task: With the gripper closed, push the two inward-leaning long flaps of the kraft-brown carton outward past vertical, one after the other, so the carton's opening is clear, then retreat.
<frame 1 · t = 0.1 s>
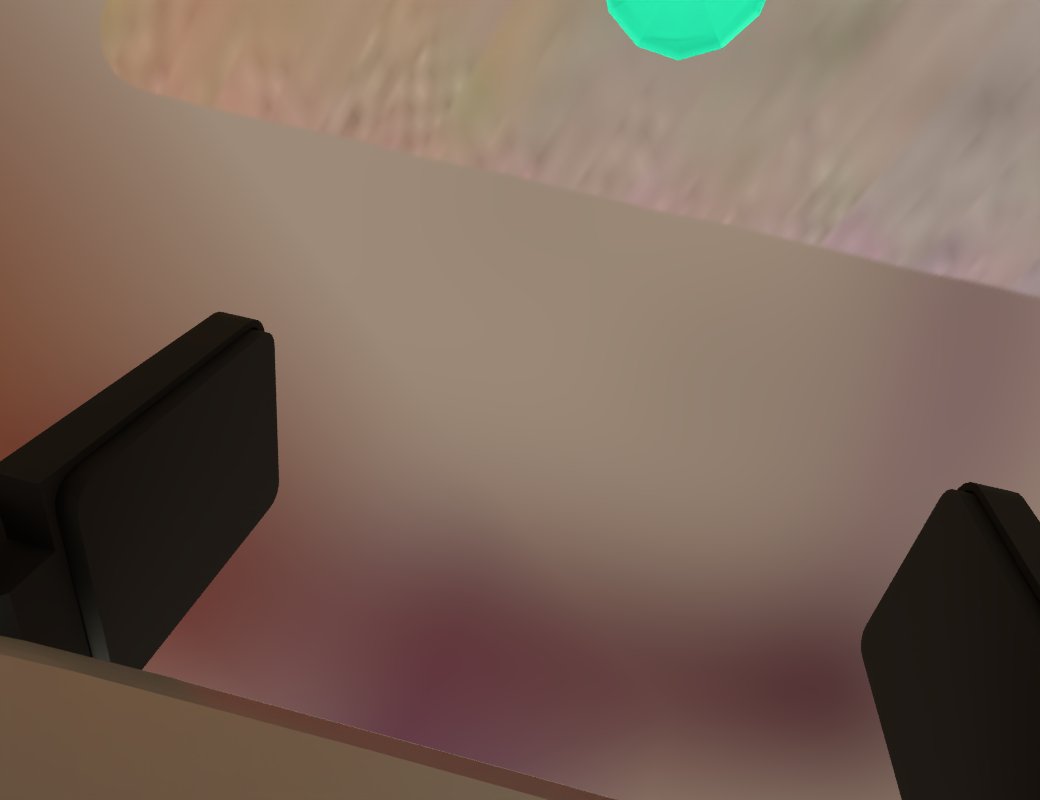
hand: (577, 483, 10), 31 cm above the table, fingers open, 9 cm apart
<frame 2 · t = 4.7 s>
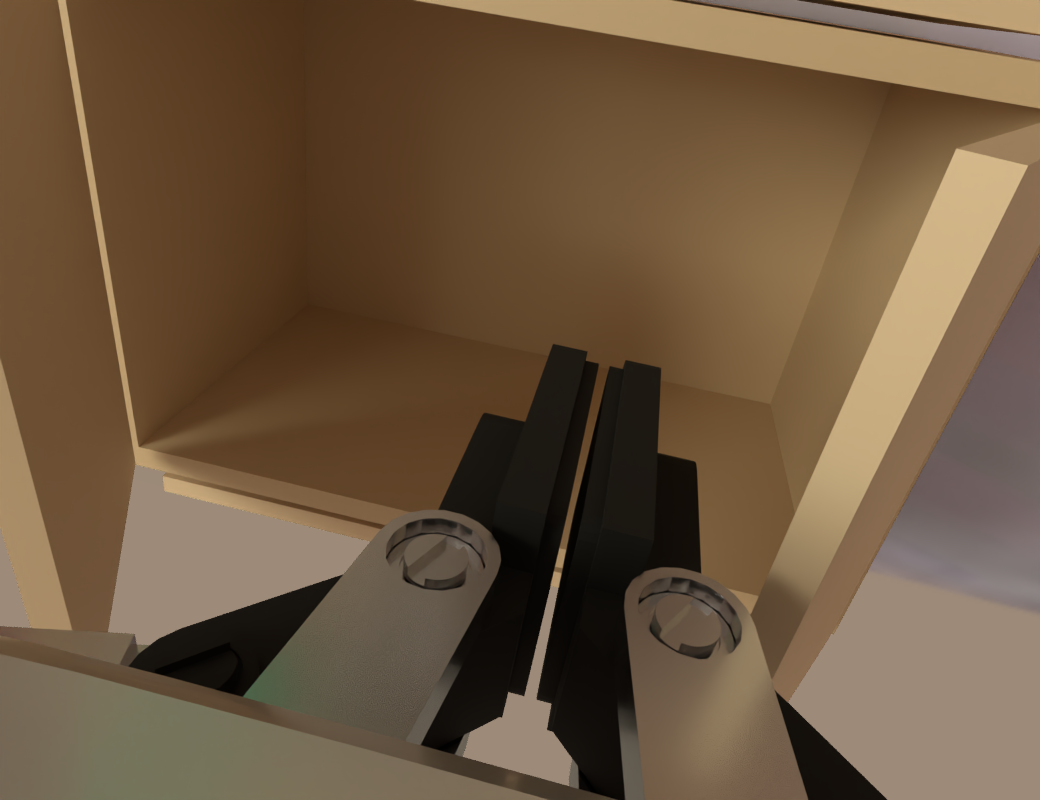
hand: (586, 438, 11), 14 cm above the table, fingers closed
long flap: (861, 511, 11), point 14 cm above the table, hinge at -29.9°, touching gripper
carton: (559, 198, 23), on the table
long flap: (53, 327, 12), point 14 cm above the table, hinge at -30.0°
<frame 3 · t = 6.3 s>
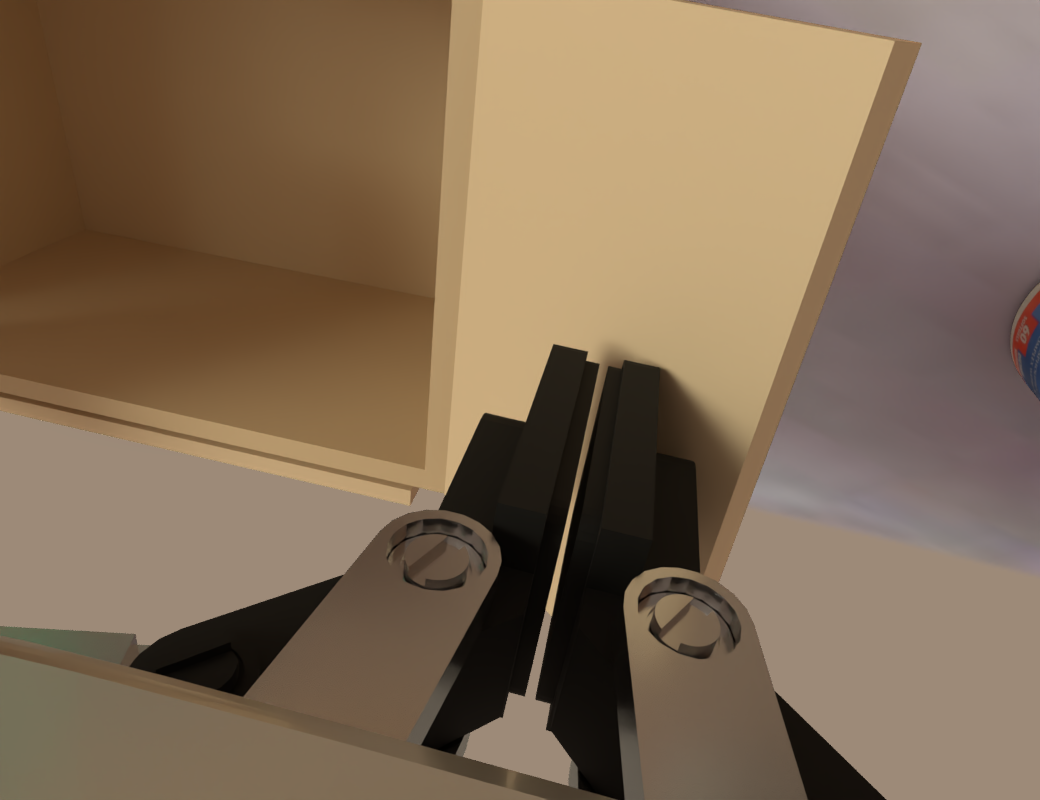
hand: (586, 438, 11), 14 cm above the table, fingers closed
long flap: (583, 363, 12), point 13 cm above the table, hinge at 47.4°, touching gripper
carton: (286, 115, 24), on the table
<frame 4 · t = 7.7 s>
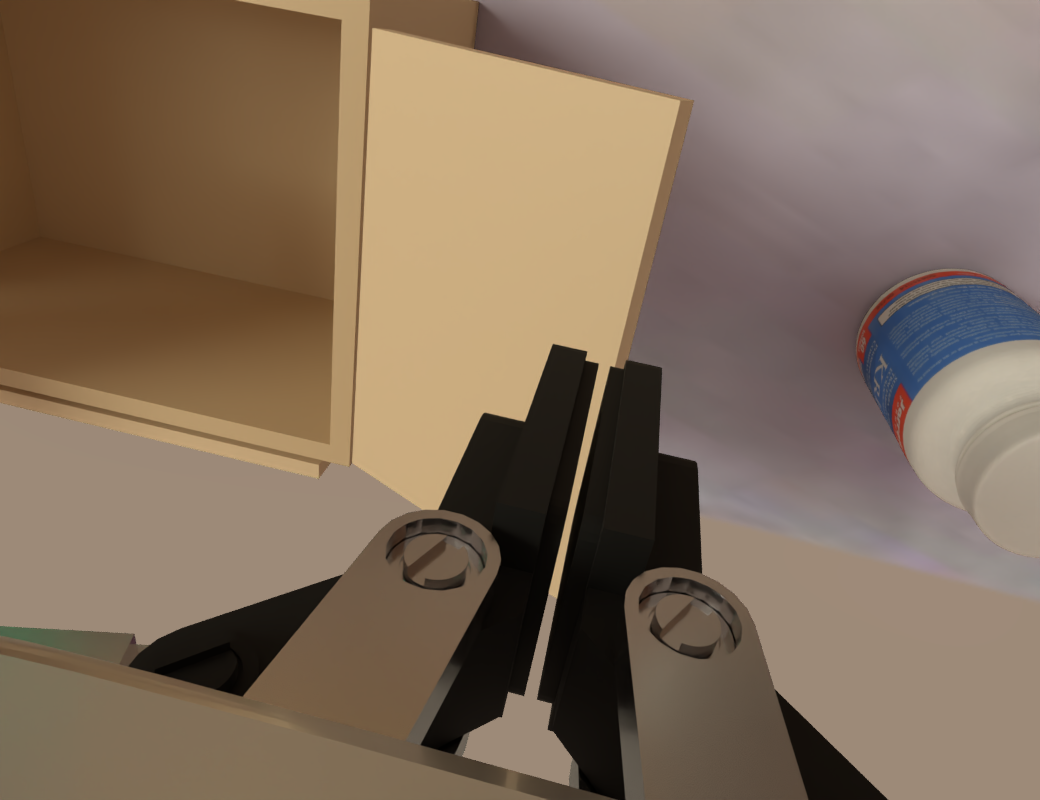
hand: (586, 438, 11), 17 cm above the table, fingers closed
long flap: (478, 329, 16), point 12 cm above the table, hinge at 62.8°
carton: (228, 139, 27), on the table
pill bottle: (930, 335, 26), on the table
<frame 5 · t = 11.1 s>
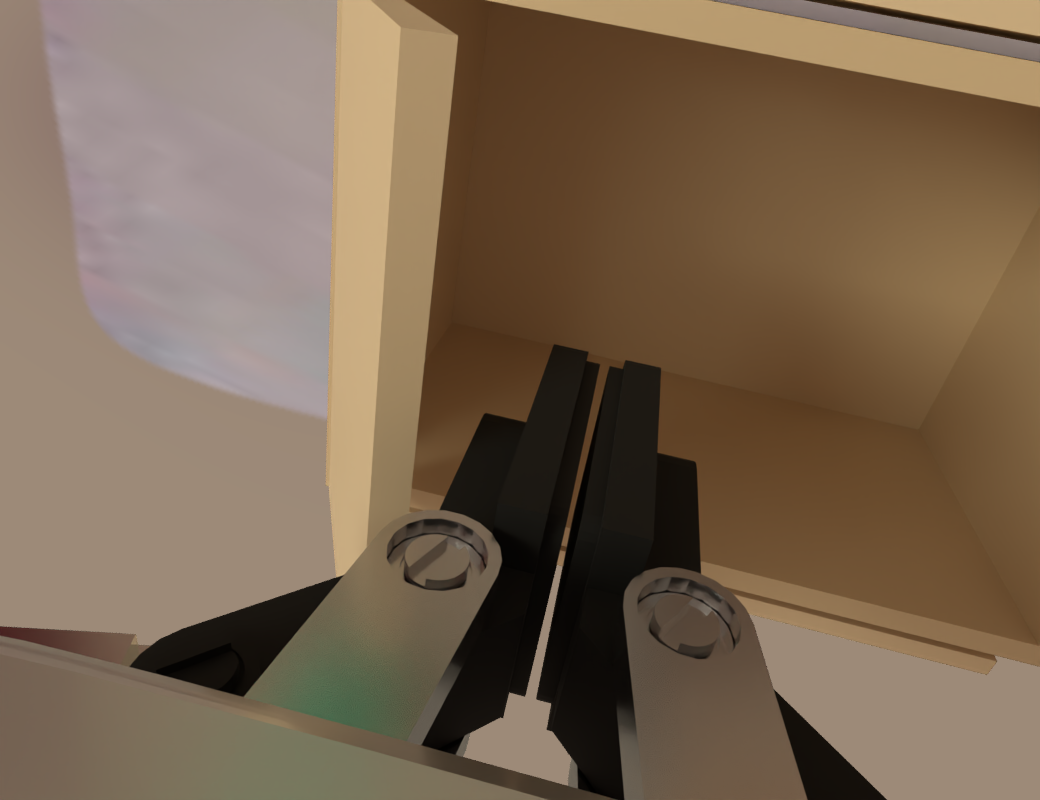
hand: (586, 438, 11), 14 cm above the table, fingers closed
carton: (724, 224, 23), on the table
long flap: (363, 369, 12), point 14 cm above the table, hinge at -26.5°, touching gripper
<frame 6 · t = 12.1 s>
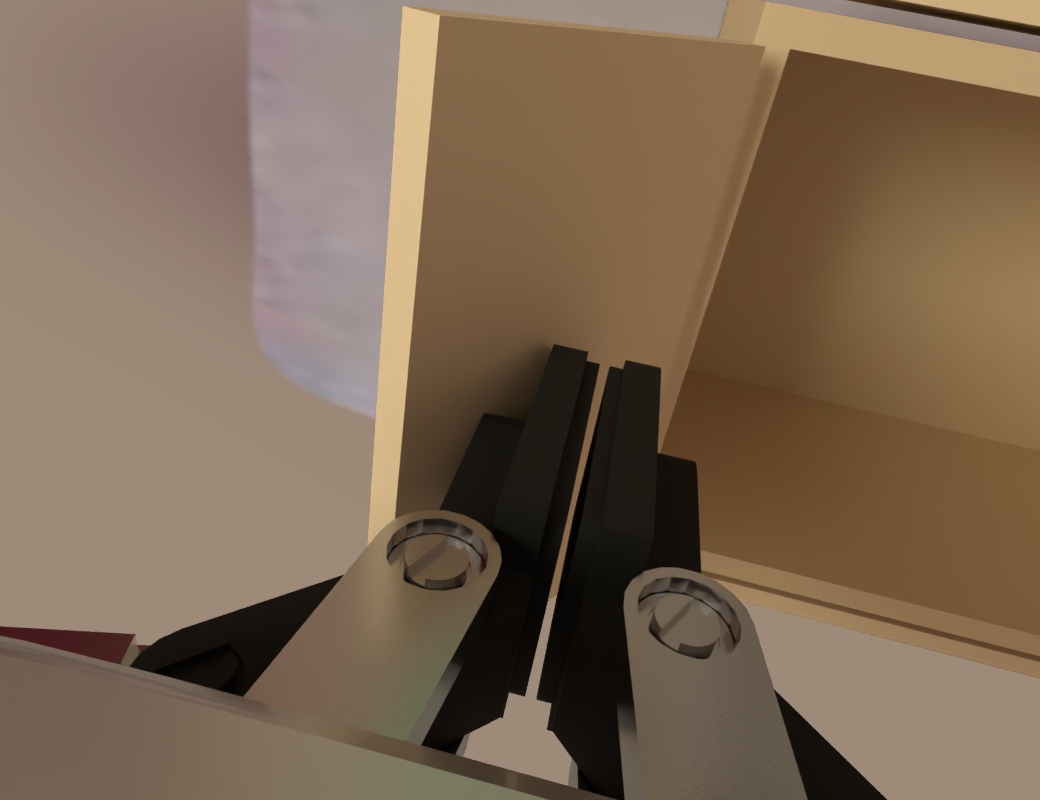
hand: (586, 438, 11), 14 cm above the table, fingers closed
carton: (954, 266, 23), on the table
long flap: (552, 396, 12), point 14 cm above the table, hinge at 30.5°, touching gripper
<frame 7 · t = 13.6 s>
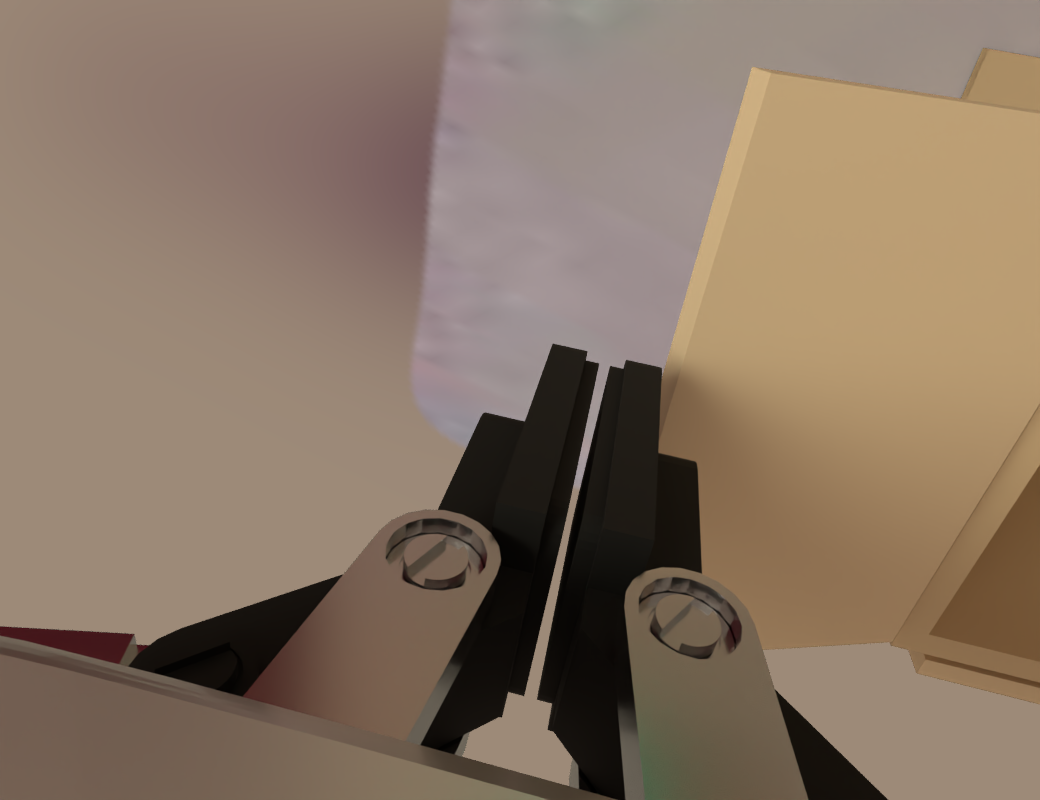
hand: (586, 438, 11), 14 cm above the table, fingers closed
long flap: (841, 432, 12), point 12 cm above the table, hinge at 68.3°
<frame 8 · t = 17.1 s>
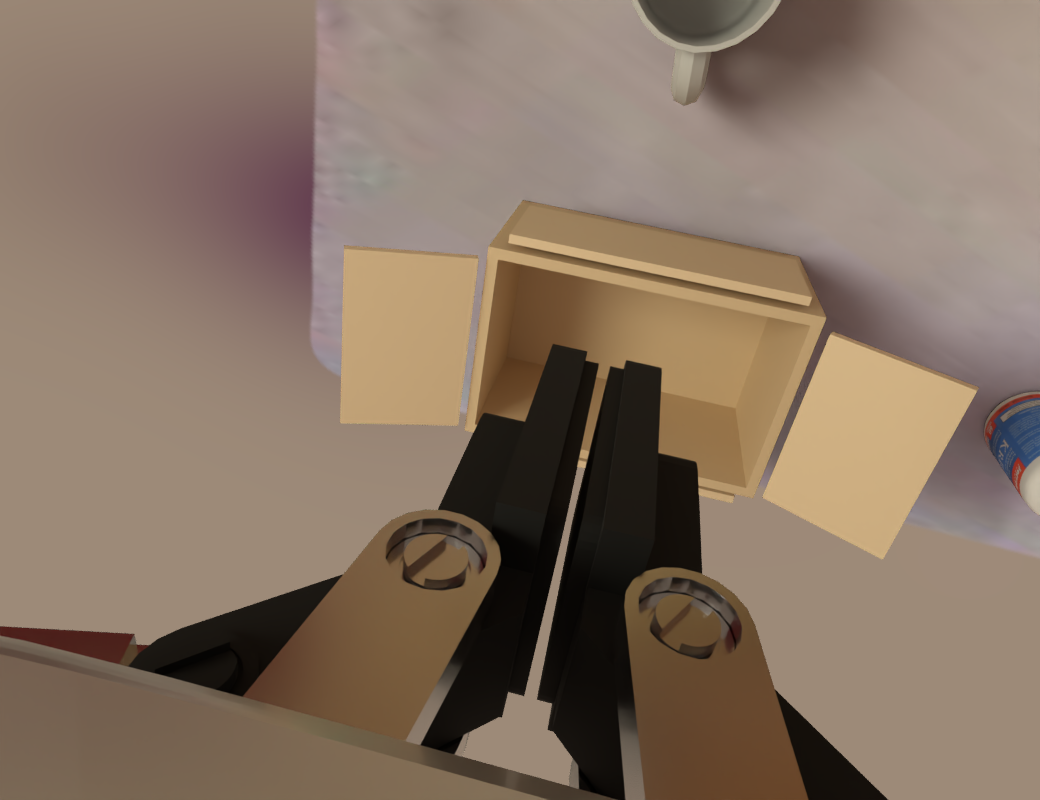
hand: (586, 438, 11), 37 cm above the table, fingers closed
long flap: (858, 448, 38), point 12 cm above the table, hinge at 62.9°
carton: (636, 312, 49), on the table
pill bottle: (1025, 423, 48), on the table
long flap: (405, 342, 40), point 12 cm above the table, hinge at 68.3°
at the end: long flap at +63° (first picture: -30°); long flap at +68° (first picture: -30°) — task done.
